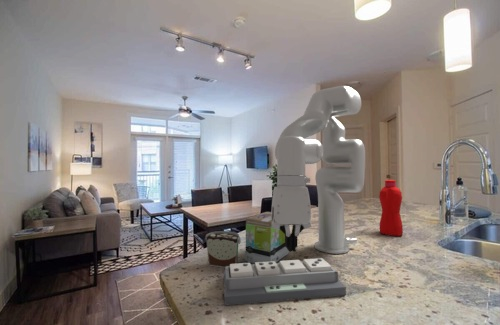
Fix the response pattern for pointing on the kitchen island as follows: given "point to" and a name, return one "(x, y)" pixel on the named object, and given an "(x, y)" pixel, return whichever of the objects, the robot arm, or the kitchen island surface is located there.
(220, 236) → the food container
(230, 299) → the keypad
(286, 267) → the key one dot
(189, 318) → the kitchen island surface
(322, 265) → the key three dots
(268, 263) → the key four dots
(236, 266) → the key two dots
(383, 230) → the red plastic bottle
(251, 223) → the tea box
